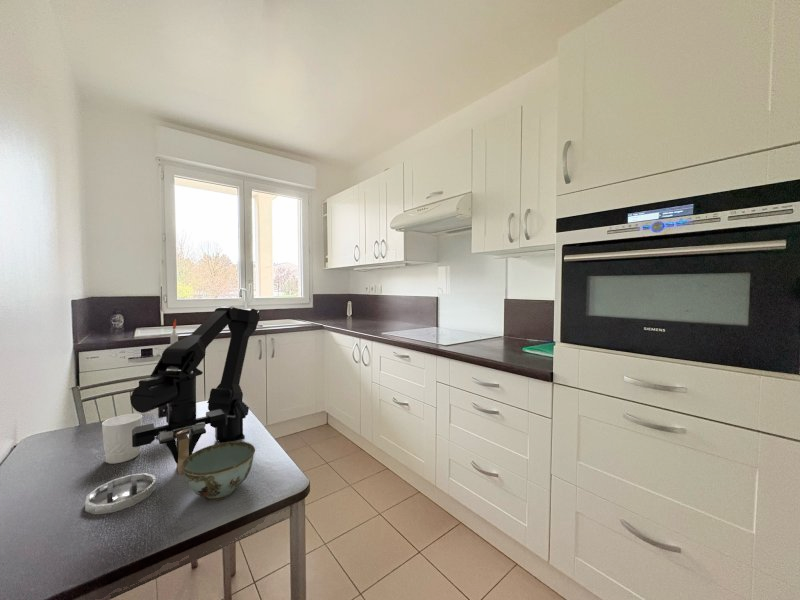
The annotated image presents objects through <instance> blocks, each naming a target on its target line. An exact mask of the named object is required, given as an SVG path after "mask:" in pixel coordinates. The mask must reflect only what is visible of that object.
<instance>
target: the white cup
mask: <svg viewBox="0 0 800 600" xmlns="http://www.w3.org/2000/svg"><path fill="white" fill-rule="evenodd" d="M142 424H143V415H142V413H128V414H121V415H118V416H113V417H110V418H108V419H106V420H104V421H102V423H101V428H102V429H101V430H102V440H103V441H102V442H103V443H102V444H103V449H104V450H103V451H104V455H105V456H104V457H105V463H107V464H119V463H124V462H127V461H131V460H132V459H134V458H137V456H139V455H140V454H141V450H140V449H141V446H139V447H132V430H133V429H134V428H135V427H138V426H143V425H142Z"/></svg>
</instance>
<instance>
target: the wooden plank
mask: <svg viewBox="0 0 800 600" xmlns="http://www.w3.org/2000/svg"><path fill="white" fill-rule="evenodd" d="M175 440H176V447H177V453H178V463H176V469H177V473H178V475H181V474H183V473H184V470H183V469H182V464H183V462H184V461H185V460H186V459H187V458H188V457H189V435H188V434H187V433H183V434H179V435H176V438H175Z"/></svg>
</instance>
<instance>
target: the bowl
mask: <svg viewBox="0 0 800 600" xmlns="http://www.w3.org/2000/svg"><path fill="white" fill-rule="evenodd" d="M255 452H256V448H255V447H254V445H252V444H251V443H249V442H247V441H237V440H234V441H230V442H224V443H219V442H218V443H215V444H212V445H209V446H206V447H203V448H200V449H199V450H196V451H193V453H192V454H191V455H190V456H189V457H188V458H187V459H186V460H185V461H184V462H183V464H182V469H183V470H184V479H185V482H186V485H187V487H188V488H189V489H190V491H192V493H194V494H196V495H197V496H200V497H204V499H205V500H206V501H211V502H213V501H220V500H224V499H226V498H228V497H230V496H231V495H232V494H233V493H234V492H235V491H237V488H238V487H240V485H241V484H243V483H244V481H245V480H246V478H247V477H248V476H249V473H250V472H251V469H252V466H253V462H254V455H255Z"/></svg>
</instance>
